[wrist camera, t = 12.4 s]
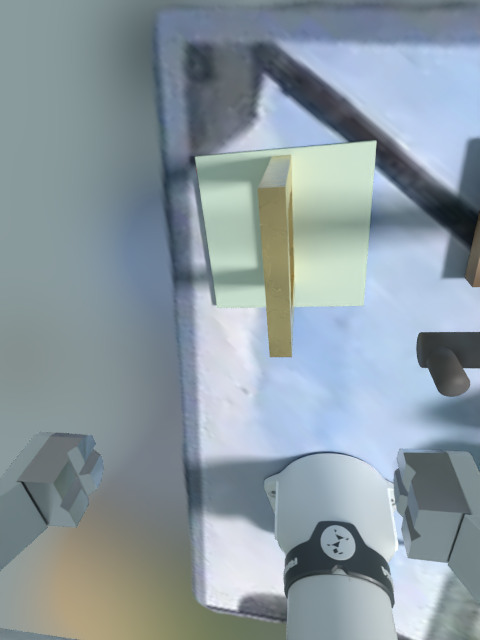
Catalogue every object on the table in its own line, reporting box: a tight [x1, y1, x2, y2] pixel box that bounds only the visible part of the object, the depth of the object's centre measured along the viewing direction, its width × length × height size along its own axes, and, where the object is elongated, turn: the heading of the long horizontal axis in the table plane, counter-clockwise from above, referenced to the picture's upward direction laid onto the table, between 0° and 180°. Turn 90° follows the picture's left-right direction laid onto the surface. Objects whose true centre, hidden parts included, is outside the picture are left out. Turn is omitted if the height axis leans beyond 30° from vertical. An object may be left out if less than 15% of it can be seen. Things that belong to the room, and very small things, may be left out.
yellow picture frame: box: [258, 155, 295, 357], centre depth 30 cm, size 12×2×12 cm, turn 6°
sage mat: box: [195, 140, 376, 308], centre depth 36 cm, size 15×15×1 cm
